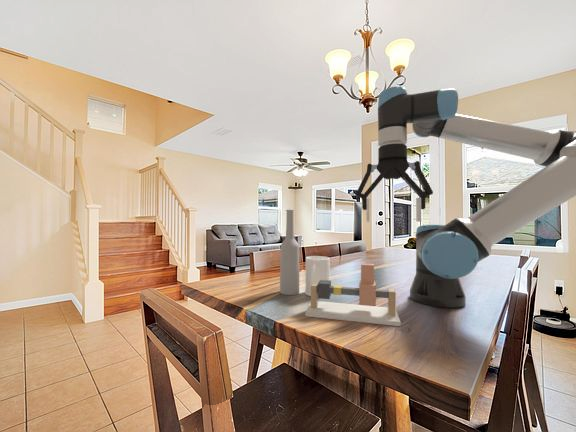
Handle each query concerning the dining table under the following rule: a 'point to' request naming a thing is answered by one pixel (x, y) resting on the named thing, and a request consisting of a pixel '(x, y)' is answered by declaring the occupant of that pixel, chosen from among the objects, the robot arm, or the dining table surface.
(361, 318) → the rail fixture
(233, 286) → the dining table surface
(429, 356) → the dining table surface
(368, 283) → the sleeve
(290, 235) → the bottle
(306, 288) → the mug
